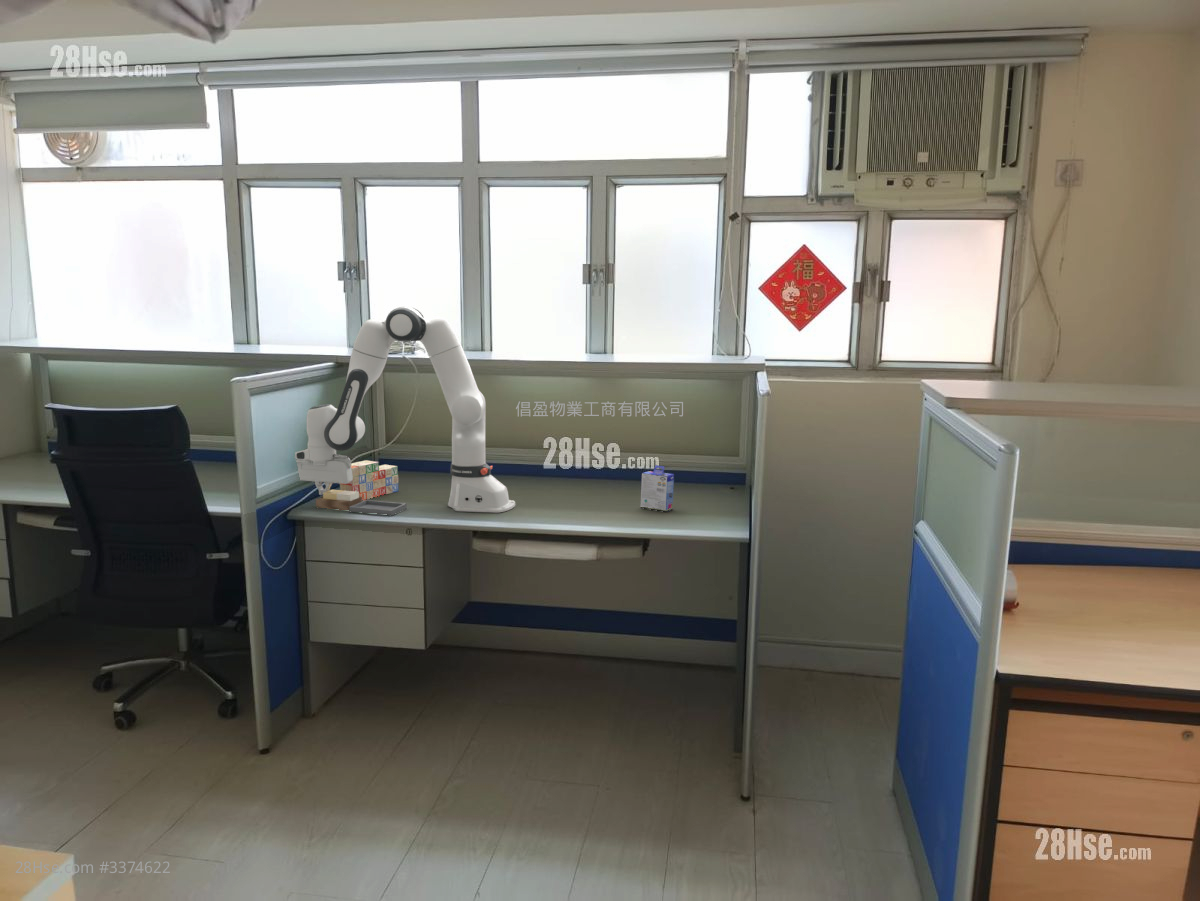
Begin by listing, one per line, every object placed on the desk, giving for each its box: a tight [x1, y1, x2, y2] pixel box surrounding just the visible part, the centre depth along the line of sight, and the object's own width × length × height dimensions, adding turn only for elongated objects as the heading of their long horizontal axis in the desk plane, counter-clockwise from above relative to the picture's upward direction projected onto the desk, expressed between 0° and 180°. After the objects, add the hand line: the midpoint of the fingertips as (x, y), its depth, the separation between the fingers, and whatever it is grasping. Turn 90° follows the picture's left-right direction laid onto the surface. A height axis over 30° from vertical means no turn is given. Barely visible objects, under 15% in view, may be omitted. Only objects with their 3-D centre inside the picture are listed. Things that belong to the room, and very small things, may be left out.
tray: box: [348, 499, 408, 516], centre depth 263 cm, size 15×10×2 cm, turn 75°
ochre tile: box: [322, 489, 344, 500], centre depth 267 cm, size 5×5×2 cm
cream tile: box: [337, 491, 359, 501], centre depth 265 cm, size 5×5×2 cm
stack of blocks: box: [339, 459, 399, 501], centre depth 282 cm, size 21×6×12 cm, turn 149°
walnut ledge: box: [315, 496, 362, 511], centre depth 267 cm, size 12×8×3 cm, turn 75°
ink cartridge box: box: [640, 464, 675, 510], centre depth 271 cm, size 10×6×14 cm, turn 59°
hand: (324, 494), depth 268 cm, fingers closed
